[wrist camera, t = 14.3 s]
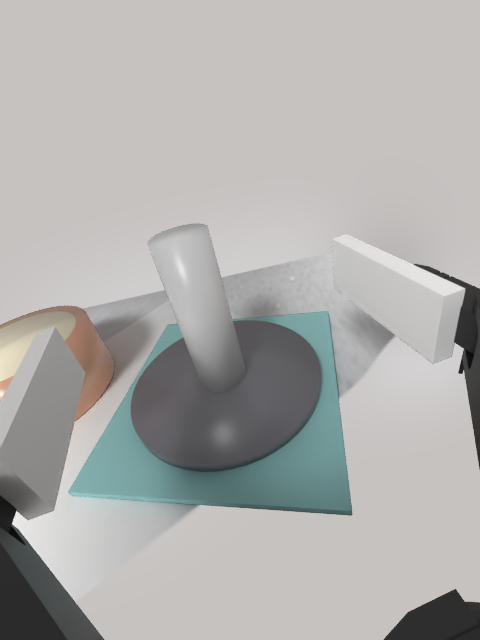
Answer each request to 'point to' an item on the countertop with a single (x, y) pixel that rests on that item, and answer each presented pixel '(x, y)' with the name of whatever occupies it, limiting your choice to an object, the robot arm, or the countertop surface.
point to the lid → (219, 370)
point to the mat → (244, 482)
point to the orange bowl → (79, 334)
